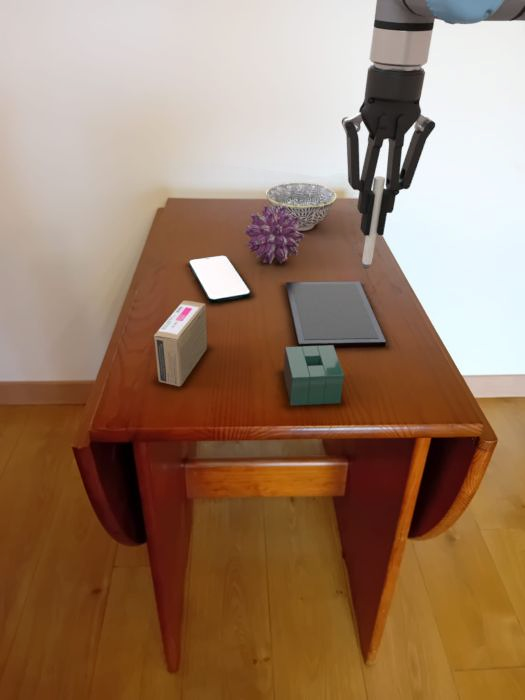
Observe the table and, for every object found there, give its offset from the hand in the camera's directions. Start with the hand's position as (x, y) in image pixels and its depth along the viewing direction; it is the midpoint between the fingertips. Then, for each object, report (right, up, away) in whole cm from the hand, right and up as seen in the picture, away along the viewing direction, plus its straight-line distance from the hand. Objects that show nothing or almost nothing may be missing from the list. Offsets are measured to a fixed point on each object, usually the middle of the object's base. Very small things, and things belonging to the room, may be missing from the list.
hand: (371, 231), depth 85 cm
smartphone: (-26, -6, +17) cm, 32 cm away
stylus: (0, -5, +4) cm, 6 cm away
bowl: (-9, +10, +40) cm, 43 cm away
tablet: (-5, -13, +8) cm, 16 cm away
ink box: (-29, -21, -4) cm, 36 cm away
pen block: (-10, -24, -8) cm, 28 cm away
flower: (-15, -1, +25) cm, 29 cm away
